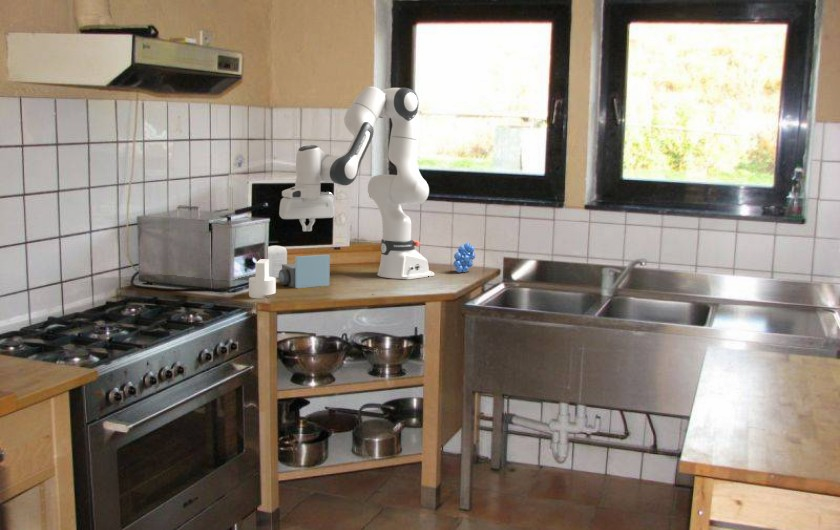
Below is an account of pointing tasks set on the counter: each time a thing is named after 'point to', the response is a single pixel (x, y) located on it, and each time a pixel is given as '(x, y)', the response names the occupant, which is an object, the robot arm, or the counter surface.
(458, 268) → the grapes
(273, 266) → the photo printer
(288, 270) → the camera body
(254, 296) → the base with upright slab
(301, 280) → the side door
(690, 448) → the counter surface
